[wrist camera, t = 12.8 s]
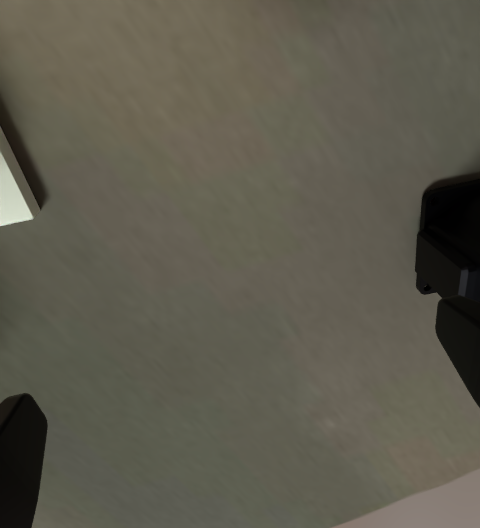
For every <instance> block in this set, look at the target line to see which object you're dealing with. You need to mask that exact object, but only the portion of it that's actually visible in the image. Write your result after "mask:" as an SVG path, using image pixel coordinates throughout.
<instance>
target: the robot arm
mask: <svg viewBox="0 0 480 528" xmlns="http://www.w3.org/2000/svg"><path fill="white" fill-rule="evenodd" d="M434 197H436V198H435V201H434V202H432V203H430V202H431V200H432V199H433V198H434ZM415 271H416V272H417V280H416V288H417V289H418V290H419V291H420V293H421V294H424V295H425V294H431V293H436V292H437V293H438V294H439V295H440V296H441V297H442V299H440V300H439V302H438V306H437V316H436V325H435V329H436V334H437V337H438V339H439V341H440V342H441V344H442V346H443V348H444V349H445V351H446V353H447V355H448V356H449V358H450V360H451V361H452V363H453V365H454V367H455V368H456V370H457V372H458V374H459V375H460V377H461V379H462V381H463V382H464V384H465V386H466V387H467V389H468V391H469V392H470V394H471V396H472V397H473V399H474V400H475V402H476V403H477V405H478V406H479V408H480V179H479V180H474V181H470V182H465V183H460V184H456V185H451V186H447V187H442V188H438V189H433V190H430V191H428V192H427V193H425V194H424V196H423V198H422V205H421V220H420V231H419V232H418V234H417V247H416V263H415ZM427 284H428V285H427ZM425 285H427V286H426V287H424V286H425ZM47 427H48V426H47V419H46V417H45V415H44V413H43V412H42V411H41V409H40V408H39V406H38V405H37V403H36V402H35V400H34V399H33V397H32V396H31V395H30V394H28V393H23V394H19V395H14V396H10V397H8V398H6V399H5V400H4V401H3V402H2V403H0V528H31V527H32V523H33V519H34V515H35V510H36V506H37V501H38V495H39V489H40V481H41V474H42V466H43V459H44V451H45V443H46V436H47Z"/></svg>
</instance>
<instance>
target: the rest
mask: <svg viewBox="0 0 480 528" xmlns="http://www.w3.org/2000/svg"><path fill="white" fill-rule="evenodd" d="M40 211H41V210H40V208H39V206H38V204H37V202H36V199H35V197H34V195H33V193H32V191H31V189H30V187H29V185H28V183H27V181H26V179H25V177H24V174H23V172H22V170H21V168H20V166H19V164H18V162H17V160H16V158H15V156H14V154H13V151H12V149H11V147H10V145H9V143H8V141H7V139H6V137H5V135H4V133H3V131H2V129H1V126H0V226H3V225H7V224H12V223H17V222H21V221H26V220H31V219H34V218H35V217H36V216H37V214H38V213H39V212H40Z"/></svg>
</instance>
